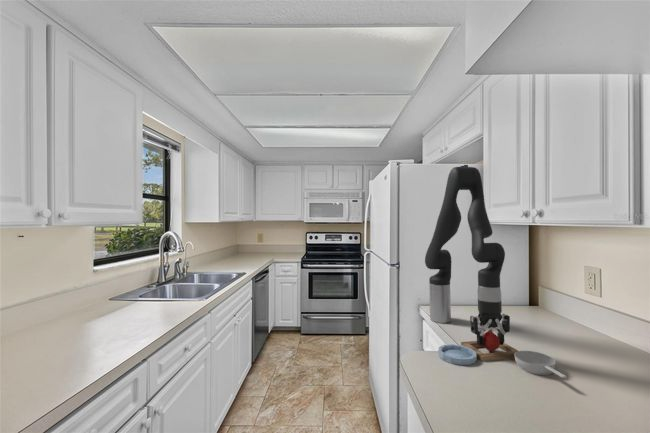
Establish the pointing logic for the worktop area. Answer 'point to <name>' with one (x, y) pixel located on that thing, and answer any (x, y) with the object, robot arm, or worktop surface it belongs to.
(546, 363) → the saucepan
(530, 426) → the worktop surface
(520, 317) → the worktop surface
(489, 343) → the onion
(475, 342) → the frame
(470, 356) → the dish
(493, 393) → the worktop surface
